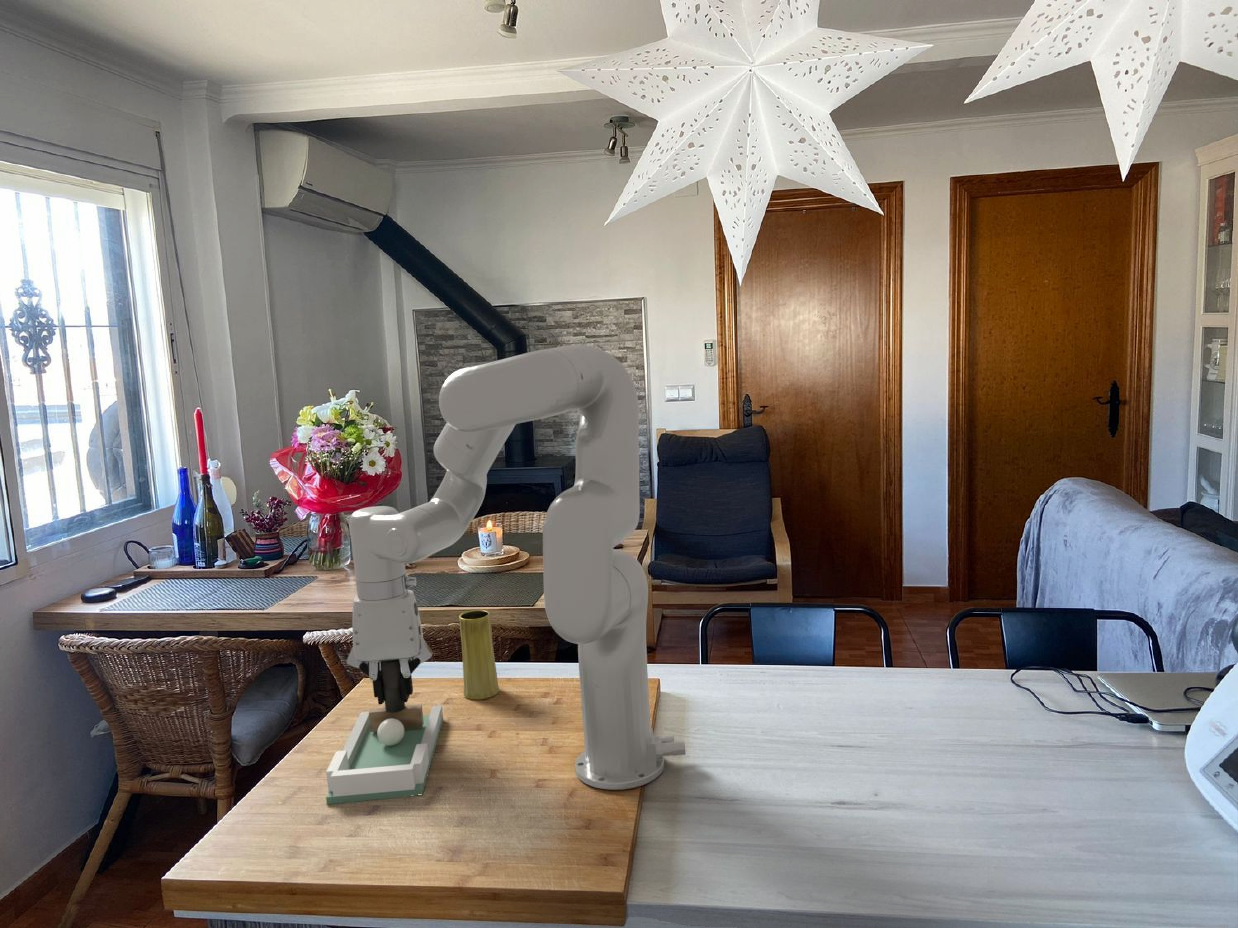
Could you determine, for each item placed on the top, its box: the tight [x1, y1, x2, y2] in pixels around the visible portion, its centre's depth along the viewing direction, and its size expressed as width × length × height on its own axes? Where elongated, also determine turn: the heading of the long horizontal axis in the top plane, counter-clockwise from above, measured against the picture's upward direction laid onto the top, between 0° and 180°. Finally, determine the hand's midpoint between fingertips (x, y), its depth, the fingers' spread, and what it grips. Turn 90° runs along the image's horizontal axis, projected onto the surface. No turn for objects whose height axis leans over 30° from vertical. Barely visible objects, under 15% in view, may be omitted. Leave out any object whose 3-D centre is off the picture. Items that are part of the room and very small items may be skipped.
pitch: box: [325, 704, 444, 805], centre depth 139 cm, size 13×24×4 cm, turn 4°
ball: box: [377, 718, 404, 746], centre depth 142 cm, size 4×4×4 cm
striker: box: [368, 659, 424, 732], centre depth 146 cm, size 8×3×11 cm, turn 94°
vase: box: [458, 609, 500, 701], centre depth 160 cm, size 6×6×14 cm
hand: (394, 698), depth 146 cm, fingers closed on striker, 3 cm apart
